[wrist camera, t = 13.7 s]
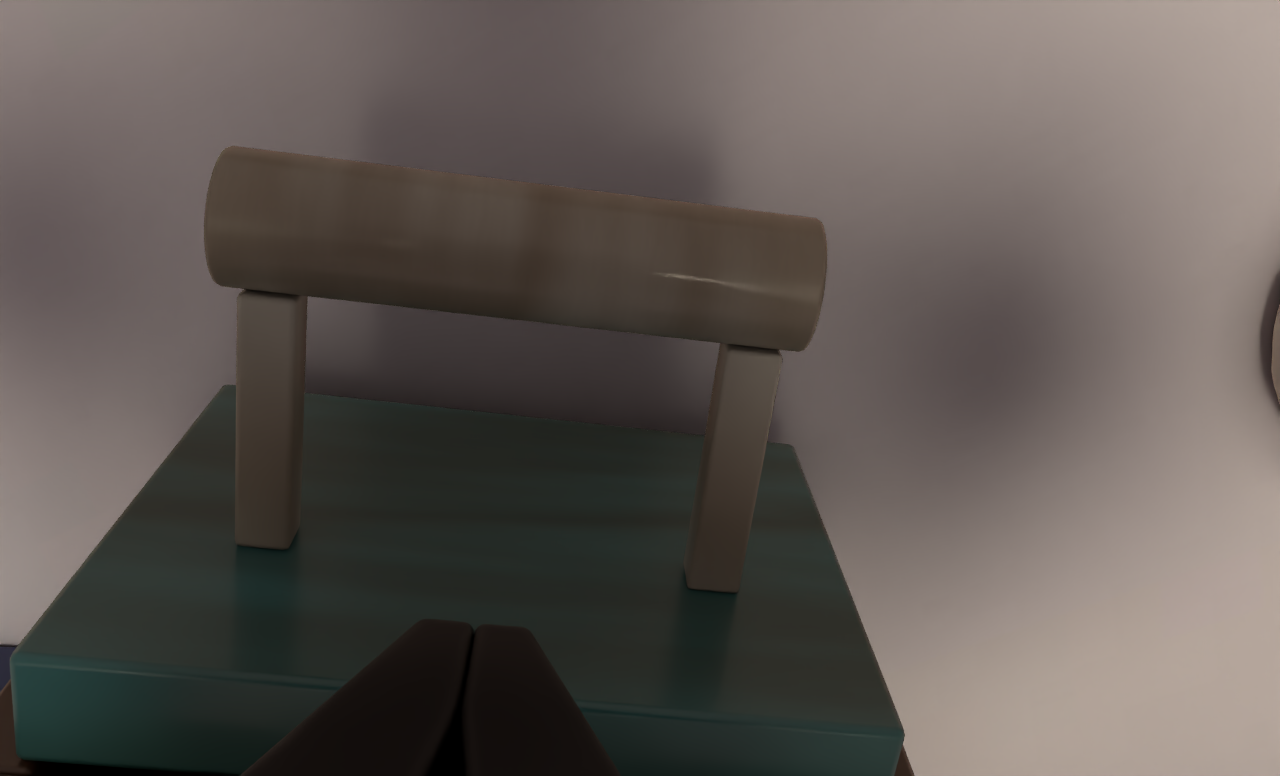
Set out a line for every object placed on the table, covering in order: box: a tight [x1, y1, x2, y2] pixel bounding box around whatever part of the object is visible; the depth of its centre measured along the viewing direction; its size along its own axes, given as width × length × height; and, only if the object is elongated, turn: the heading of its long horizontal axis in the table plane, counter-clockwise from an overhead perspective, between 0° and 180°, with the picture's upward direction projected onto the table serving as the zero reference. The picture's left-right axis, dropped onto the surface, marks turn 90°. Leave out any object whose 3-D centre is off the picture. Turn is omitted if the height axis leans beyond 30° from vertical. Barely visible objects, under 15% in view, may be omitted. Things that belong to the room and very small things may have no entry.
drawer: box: [10, 146, 905, 776], centre depth 15 cm, size 16×8×7 cm, turn 172°
